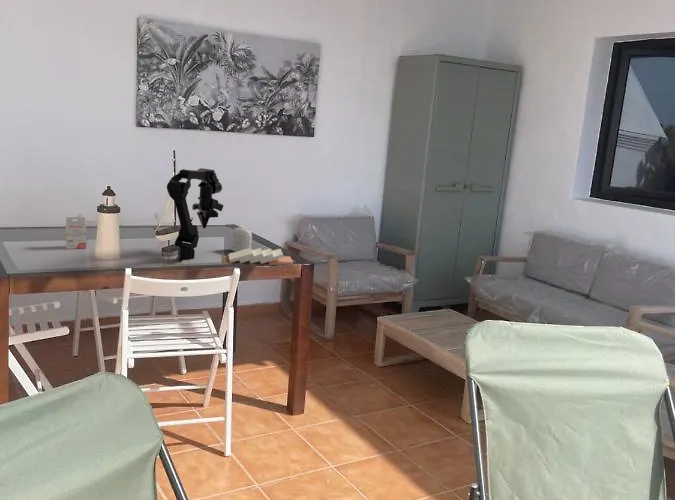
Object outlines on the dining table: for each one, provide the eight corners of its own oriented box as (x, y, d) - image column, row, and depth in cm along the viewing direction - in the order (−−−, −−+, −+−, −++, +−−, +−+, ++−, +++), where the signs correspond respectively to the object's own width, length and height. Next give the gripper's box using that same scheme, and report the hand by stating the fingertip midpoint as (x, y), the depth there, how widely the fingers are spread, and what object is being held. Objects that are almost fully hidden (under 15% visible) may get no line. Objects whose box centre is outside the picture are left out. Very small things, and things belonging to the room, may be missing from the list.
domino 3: (249, 260, 314) (272, 253, 315) (248, 254, 323) (270, 248, 325) (250, 263, 314) (273, 256, 316) (248, 257, 324) (271, 251, 325)
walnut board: (222, 265, 310) (222, 263, 310) (221, 257, 323) (221, 255, 323) (275, 267, 315) (275, 265, 315) (272, 259, 328) (272, 257, 328)
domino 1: (229, 259, 312) (252, 253, 313) (228, 253, 322) (251, 247, 323) (230, 262, 313) (253, 256, 314) (229, 256, 322) (252, 250, 323)
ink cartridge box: (85, 246, 319) (85, 215, 315) (85, 248, 314) (86, 217, 311) (65, 246, 316) (65, 214, 312) (65, 248, 311) (65, 217, 307)
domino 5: (269, 261, 316) (293, 262, 318) (267, 255, 325) (290, 256, 328) (269, 264, 316) (292, 265, 319) (267, 258, 326) (290, 259, 328)
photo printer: (252, 254, 333) (253, 230, 330) (246, 256, 329) (247, 231, 326) (236, 250, 338) (237, 225, 335) (230, 251, 335) (231, 226, 332)
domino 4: (259, 260, 315) (282, 254, 316) (258, 255, 324) (280, 248, 326) (260, 263, 315) (283, 257, 317) (258, 258, 325) (281, 251, 326)
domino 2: (239, 260, 313) (262, 253, 314) (238, 254, 323) (260, 247, 324) (240, 263, 314) (263, 256, 315) (239, 257, 323) (261, 250, 324)
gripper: (229, 199, 317) (227, 232, 321) (214, 191, 333) (213, 223, 336) (206, 199, 311) (205, 233, 315) (192, 191, 327) (191, 223, 331)
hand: (204, 228), depth 325 cm, fingers closed
